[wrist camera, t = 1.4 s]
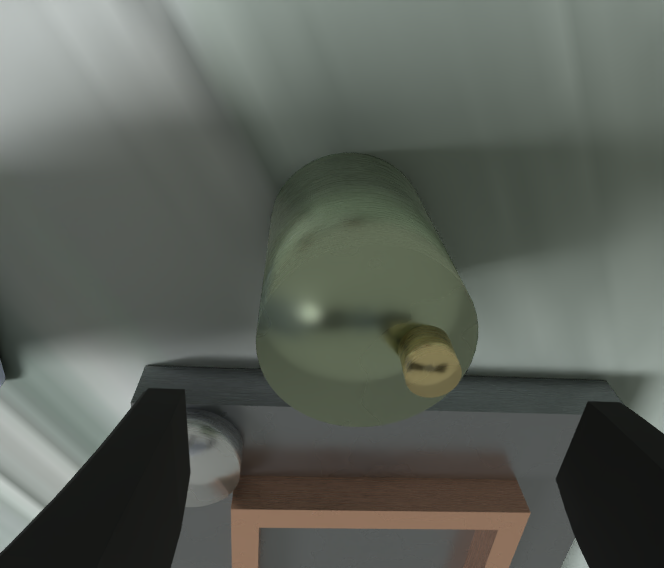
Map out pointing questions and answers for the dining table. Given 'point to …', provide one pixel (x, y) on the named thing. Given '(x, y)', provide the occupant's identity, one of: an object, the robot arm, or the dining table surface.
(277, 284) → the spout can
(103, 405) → the dining table surface
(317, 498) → the grey square slab
